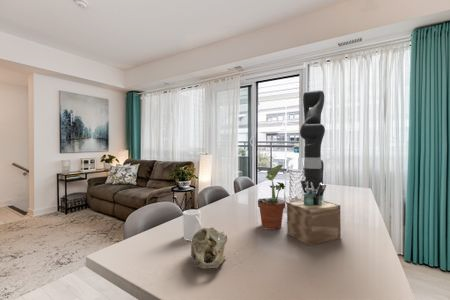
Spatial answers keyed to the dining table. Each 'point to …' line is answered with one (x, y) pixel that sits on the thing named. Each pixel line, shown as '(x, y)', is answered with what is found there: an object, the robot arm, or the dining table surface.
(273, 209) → the potted plant
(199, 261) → the skull
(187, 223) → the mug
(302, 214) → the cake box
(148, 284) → the dining table surface
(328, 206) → the lid
